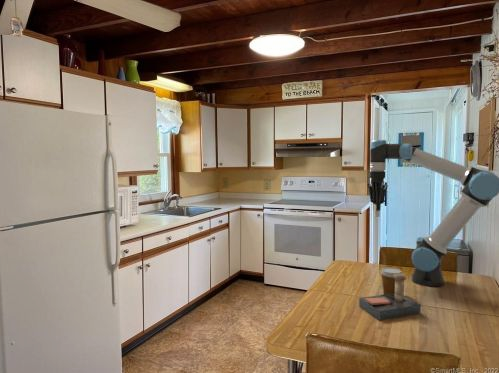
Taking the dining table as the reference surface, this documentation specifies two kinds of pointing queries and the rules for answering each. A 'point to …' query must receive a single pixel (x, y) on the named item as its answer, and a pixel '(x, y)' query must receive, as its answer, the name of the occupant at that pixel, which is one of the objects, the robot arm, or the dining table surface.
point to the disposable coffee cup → (389, 279)
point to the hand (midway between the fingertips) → (376, 216)
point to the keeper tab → (378, 300)
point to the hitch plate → (390, 307)
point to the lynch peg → (399, 287)
